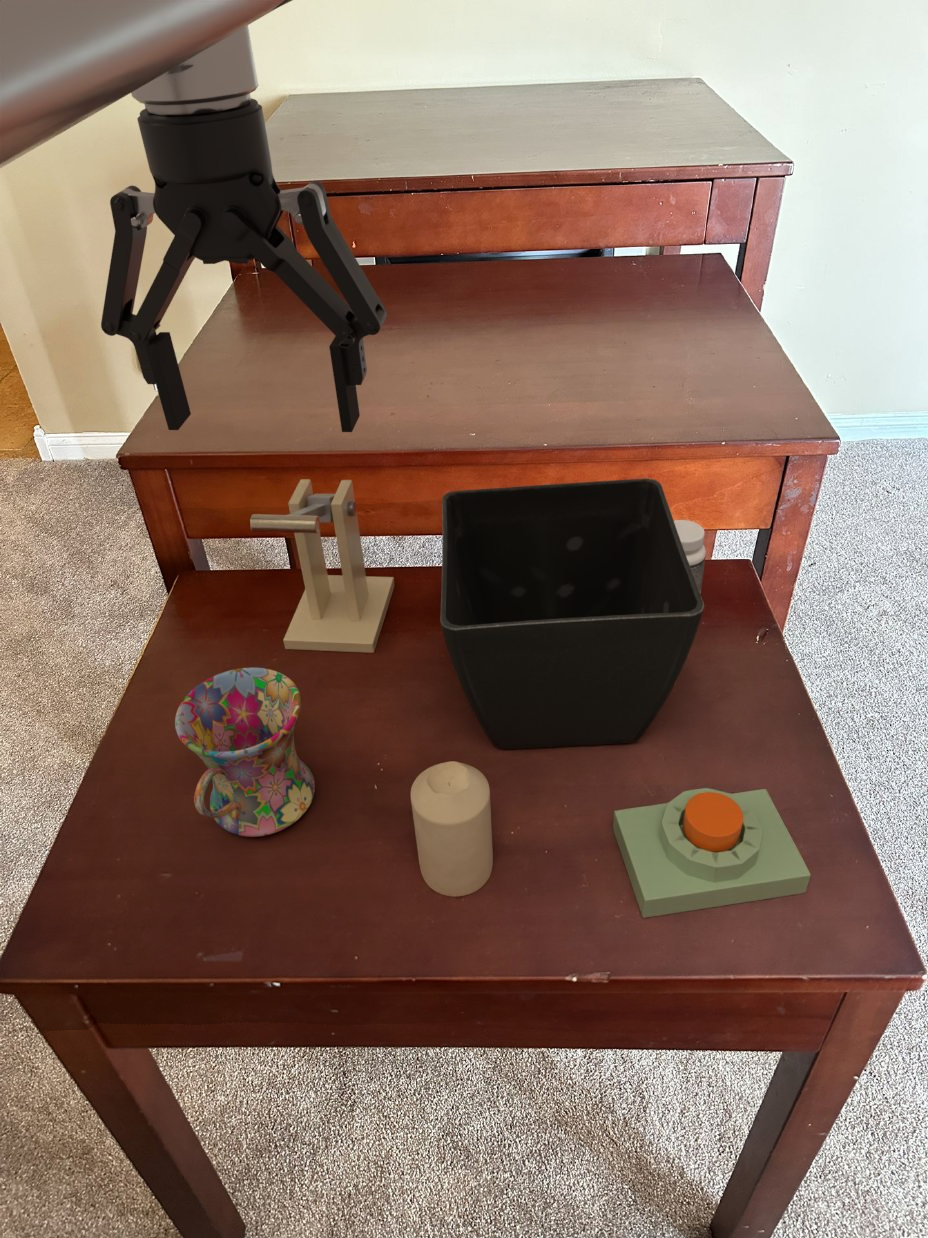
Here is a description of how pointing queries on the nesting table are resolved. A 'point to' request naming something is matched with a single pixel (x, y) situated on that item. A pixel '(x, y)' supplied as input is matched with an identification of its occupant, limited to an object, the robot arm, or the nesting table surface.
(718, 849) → the button
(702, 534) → the pill bottle
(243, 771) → the mug
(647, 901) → the control block
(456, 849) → the candle
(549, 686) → the flower pot
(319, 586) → the bracket
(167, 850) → the nesting table surface
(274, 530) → the lever
